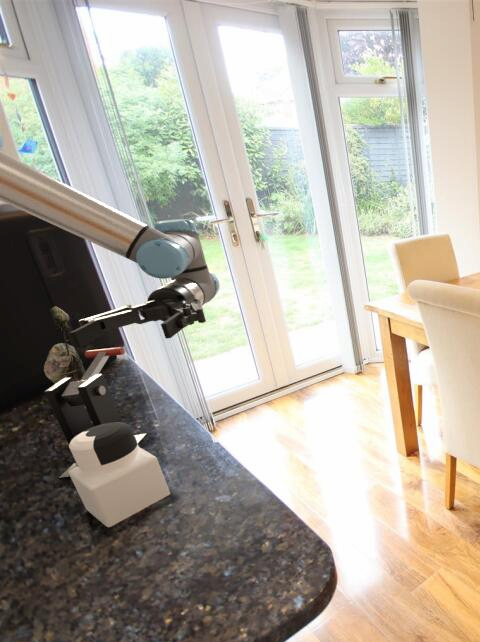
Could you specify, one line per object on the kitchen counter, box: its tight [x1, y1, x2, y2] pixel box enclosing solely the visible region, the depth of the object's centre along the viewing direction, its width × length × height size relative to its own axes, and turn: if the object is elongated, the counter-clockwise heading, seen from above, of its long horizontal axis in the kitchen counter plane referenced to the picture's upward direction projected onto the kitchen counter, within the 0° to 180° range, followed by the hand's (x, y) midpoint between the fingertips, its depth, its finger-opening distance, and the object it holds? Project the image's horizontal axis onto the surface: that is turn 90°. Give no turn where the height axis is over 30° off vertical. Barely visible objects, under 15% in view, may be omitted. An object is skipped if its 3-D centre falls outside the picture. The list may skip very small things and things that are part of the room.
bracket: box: [43, 373, 148, 480], centre depth 69 cm, size 10×7×14 cm
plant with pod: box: [43, 306, 86, 409], centre depth 86 cm, size 8×11×20 cm
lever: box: [61, 346, 126, 406], centre depth 70 cm, size 11×5×2 cm, turn 13°
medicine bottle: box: [68, 421, 171, 528], centre depth 60 cm, size 7×7×12 cm
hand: (120, 335), depth 79 cm, fingers open, 13 cm apart
